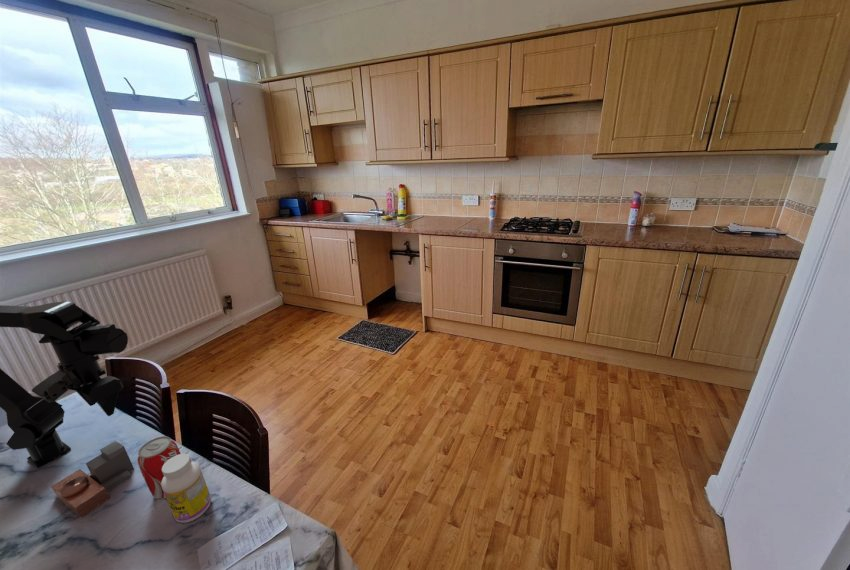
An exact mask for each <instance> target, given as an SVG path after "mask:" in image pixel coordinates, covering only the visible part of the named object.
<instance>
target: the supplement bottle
mask: <svg viewBox="0 0 850 570" xmlns="http://www.w3.org/2000/svg"><path fill="white" fill-rule="evenodd" d="M162 472H163V475H164V477H163V479H162V482H161V487H162V490H163V492H164V494H165V497H166V498H165V499H166V501H167V503H168V505H169V508H170V510H171V511H170V512H171V513H172V515H173V518H174V520H175V521H176V522H178V523H182V524H183V523H184V524H185V523H190V522H192V521H194V520H196V519H198V518H200V517H201V516H202V515H204V513H205V512H206V511H207V510H208V509H209V507H210V505H211V502H212V497H211V493H210V491H209V488H208V485H207V483H206V480H205V477H204V474H203V472H202V469H201V467H200V465H199V463H197V462H195V461H193V460H192V459H191V457H190V455H189V454H187V453H181V454H179V455H176V456H174V457H172V458H170V459H169V460H168V461H166V462H165V464H164V465H163V467H162Z"/></svg>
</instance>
